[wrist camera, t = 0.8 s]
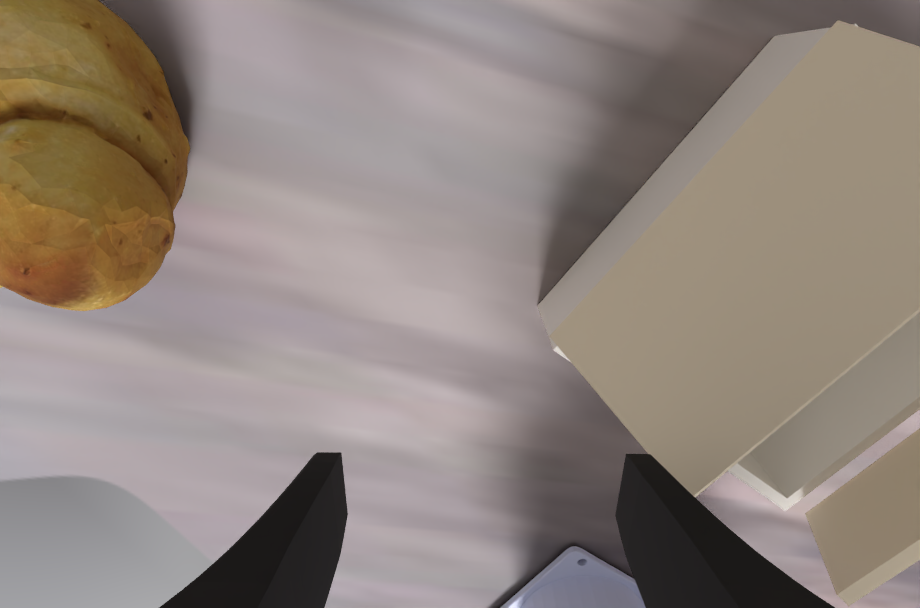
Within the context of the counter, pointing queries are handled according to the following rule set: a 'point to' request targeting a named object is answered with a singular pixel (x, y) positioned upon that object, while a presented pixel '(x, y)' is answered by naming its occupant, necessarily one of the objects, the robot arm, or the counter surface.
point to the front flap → (766, 264)
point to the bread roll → (83, 155)
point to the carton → (844, 402)
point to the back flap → (872, 523)
